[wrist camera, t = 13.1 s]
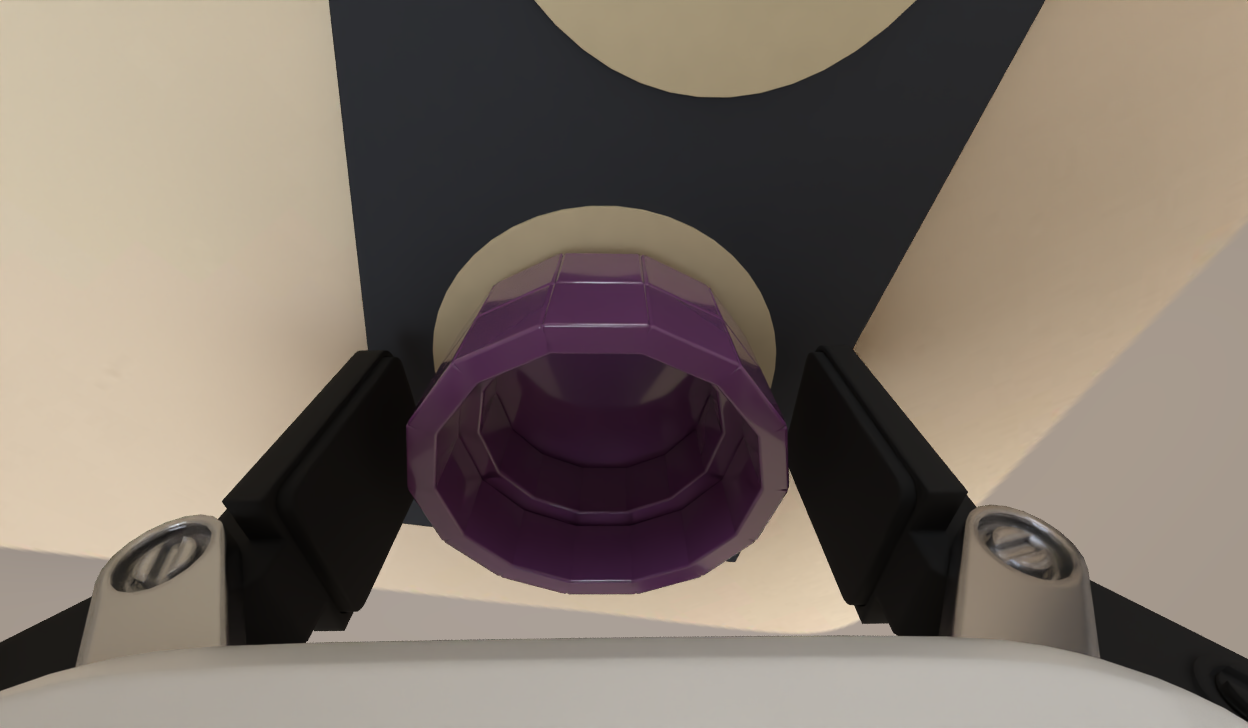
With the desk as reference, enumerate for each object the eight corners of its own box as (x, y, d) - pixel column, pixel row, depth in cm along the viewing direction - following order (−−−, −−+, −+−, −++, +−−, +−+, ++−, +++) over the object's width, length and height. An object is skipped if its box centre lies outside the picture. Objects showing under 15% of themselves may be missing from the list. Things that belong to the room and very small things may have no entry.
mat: (201, -1357, 3) (142, -1556, 3) (1401, -693, 5) (1481, -770, 4) (391, 511, 14) (385, 524, 14) (732, 552, 16) (735, 565, 15)
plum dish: (514, 181, 9) (463, 241, 6) (805, 324, 10) (876, 425, 7) (428, 427, 12) (368, 543, 9) (660, 504, 13) (671, 623, 11)
